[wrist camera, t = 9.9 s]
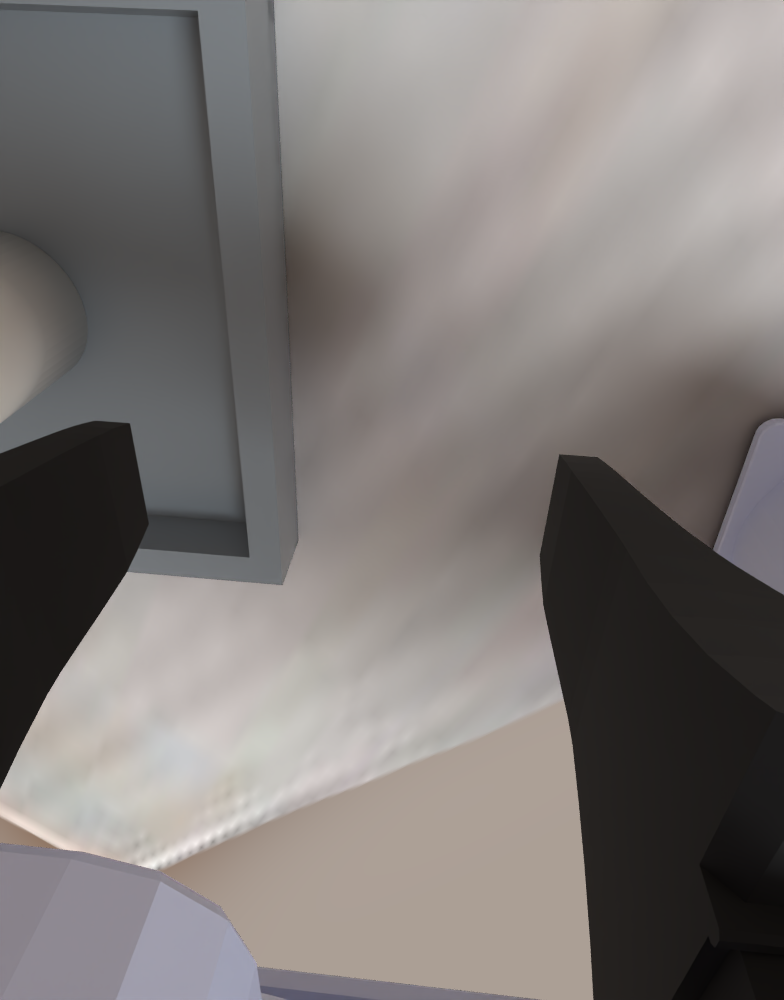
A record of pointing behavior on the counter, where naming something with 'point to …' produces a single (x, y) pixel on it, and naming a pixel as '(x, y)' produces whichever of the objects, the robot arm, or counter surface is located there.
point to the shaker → (35, 323)
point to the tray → (163, 258)
